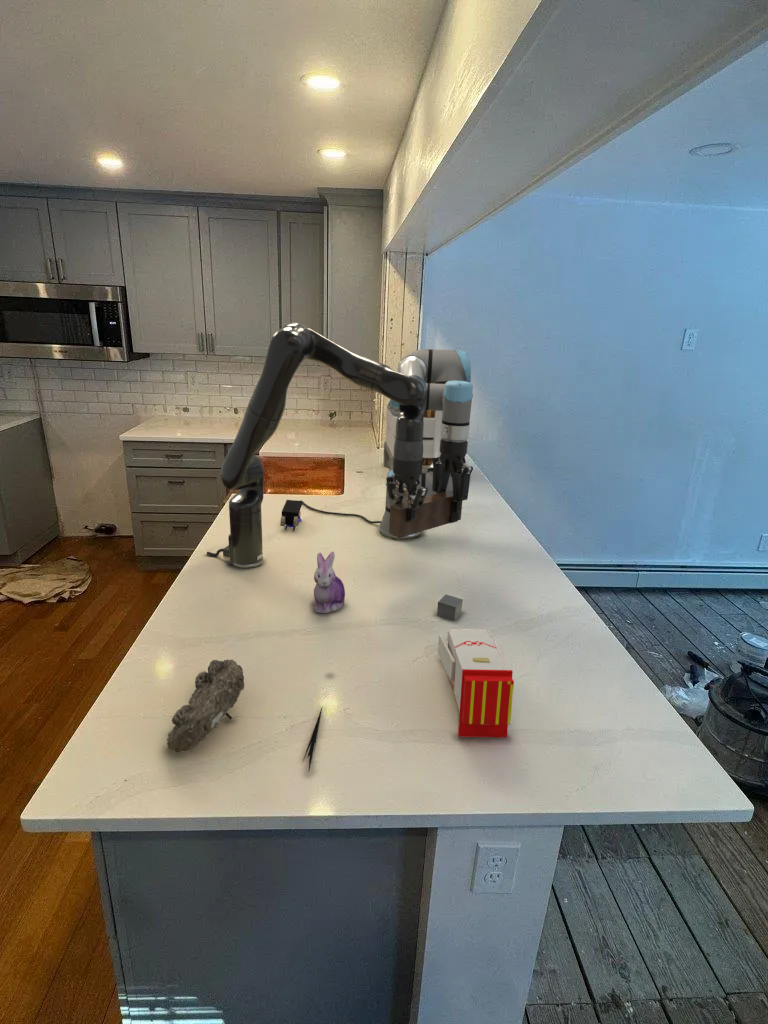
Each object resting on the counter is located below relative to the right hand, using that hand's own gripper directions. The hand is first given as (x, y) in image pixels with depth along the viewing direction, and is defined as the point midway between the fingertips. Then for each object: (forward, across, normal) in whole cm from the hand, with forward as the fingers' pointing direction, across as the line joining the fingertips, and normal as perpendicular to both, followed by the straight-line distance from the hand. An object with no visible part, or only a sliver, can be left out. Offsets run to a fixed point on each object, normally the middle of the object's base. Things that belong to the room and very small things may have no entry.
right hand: (447, 519), depth 162 cm
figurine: (+19, -6, -37) cm, 42 cm away
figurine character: (+19, -61, -14) cm, 65 cm away
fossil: (+18, +16, -80) cm, 83 cm away
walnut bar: (0, 0, -8) cm, 9 cm away
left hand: (-4, 0, -17) cm, 17 cm away
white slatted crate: (+19, -86, +73) cm, 114 cm away
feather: (+18, +29, -64) cm, 72 cm away
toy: (+18, +41, -34) cm, 56 cm away
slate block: (+19, +16, -14) cm, 28 cm away
